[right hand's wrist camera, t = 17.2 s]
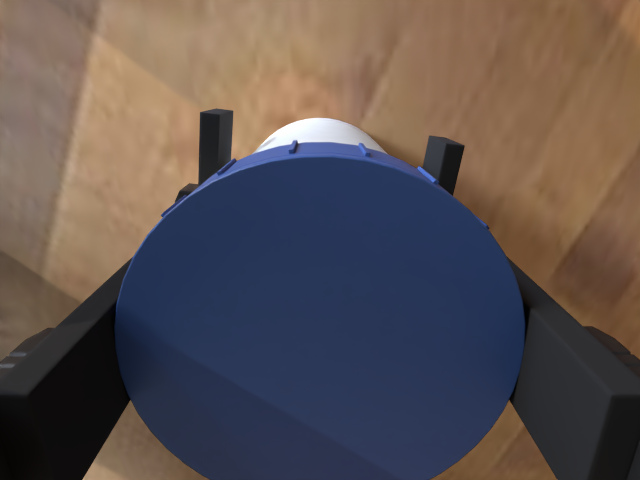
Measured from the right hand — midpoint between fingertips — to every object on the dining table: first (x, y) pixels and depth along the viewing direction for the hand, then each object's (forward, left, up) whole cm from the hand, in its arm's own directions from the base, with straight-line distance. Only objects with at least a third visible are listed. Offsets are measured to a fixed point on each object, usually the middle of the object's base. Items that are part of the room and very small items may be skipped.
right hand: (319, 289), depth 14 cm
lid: (0, 0, +3) cm, 3 cm away
